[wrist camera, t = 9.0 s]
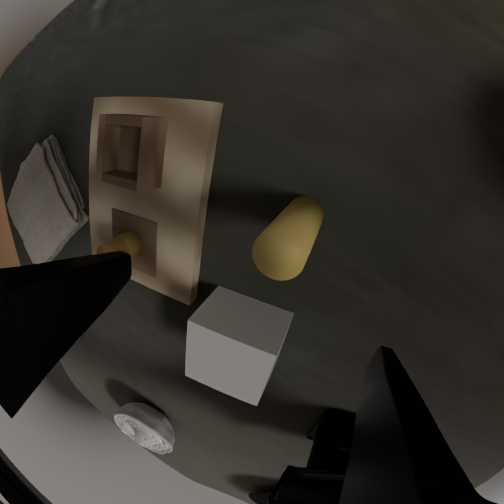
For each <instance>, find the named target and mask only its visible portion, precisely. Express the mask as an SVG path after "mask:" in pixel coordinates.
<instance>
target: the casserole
mask: <svg viewBox="0 0 504 504" xmlns="http://www.w3.org/2000/svg"><path fill="white" fill-rule="evenodd" d="M272 492H273V491H271V492H265V493H250V494H249V497H250V498H251V500H253V501H254V502H255V503H257V504H267V499H268V498H269V497H270V495H271V493H272Z"/></svg>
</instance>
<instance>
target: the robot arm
mask: <svg viewBox="0 0 504 504" xmlns="http://www.w3.org/2000/svg"><path fill="white" fill-rule="evenodd" d="M131 276H132V262H131V255H130V254H129V253H126V252H124V251H114V252H108V253H101V254H94V255H88V256H81V257H75V258H69V259H62V260H56V261H50V262H44V263H39V264H31V265H25V266H19V267H10V268H2V269H0V405H1V406H2V407H3V409H4V410H5V411H6V412H7V413H8V415H9V416H10V417H11V418H13V417H14V415H15V414H16V413H17V412H18V411H19V409H20V408H21V407H22V405H23V404H24V403H25V402H26V400H27V399H28V398H29V397H30V395H31V394H32V393H33V392H34V390H35V389H36V388H37V387H38V385H39V384H40V383H41V382H42V380H43V379H44V378H45V377H46V376H47V374H48V373H49V372H50V371H51V370H52V368H53V367H54V366H55V365H56V364H57V363H58V361H59V360H60V359H61V358H62V357H63V356H64V355H65V353H66V352H67V351H68V350H69V349H70V348H71V347H72V346H73V344H74V343H75V342H76V341H77V340H78V339H79V338H80V337H81V336H82V334H83V333H84V332H85V331H86V330H87V329H88V328H89V327H90V326H91V325H92V324H93V322H94V321H95V320H96V319H97V318H98V317H99V316H100V315H101V314H102V313H103V312H104V311H105V310H106V309H107V307H108V306H109V305H110V304H111V303H112V301H113V300H114V299H115V297H116V296H117V295H118V294H119V292H120V291H121V290H122V289H123V287H124V286H125V285H126V284H127V282H128V281H129V280H130V278H131ZM306 438H307V439H310V440H313V441H314V442H313V445H312V449H311V452H310V456H309V459H308V463H307V466H306V468H302V467H294V466H289V465H288V466H287V468H286V470H285V471H284V472H283V474H282V476H281V478H280V479H279V481H278V483H277V485H276V486H275V488H274V490H273V492H272V493H271V495H270V497H269V498H268V499H267V504H497V503H494V502H491V501H488V500H486V499H484V498H483V497H482V496H480V495H479V494H478V493H477V491H476V490H475V489H474V487H473V485H472V484H471V482H470V481H469V479H468V477H467V476H466V474H465V472H464V471H463V469H462V468H461V466H460V464H459V463H458V461H457V459H456V458H455V456H454V455H453V453H452V451H451V450H450V448H449V446H448V444H447V442H446V441H445V439H444V437H443V435H442V433H441V431H440V429H438V426H437V424H436V422H435V420H434V419H433V417H432V415H431V413H430V411H429V410H428V408H427V406H426V404H425V403H424V401H423V399H422V397H421V396H420V394H419V392H418V390H417V389H416V387H415V385H414V384H413V382H412V380H411V379H410V377H409V375H408V374H407V372H406V370H405V369H404V367H403V365H402V364H401V362H400V361H399V359H398V357H397V356H396V354H395V352H394V351H393V350H392V349H391V348H388V347H384V346H380V347H379V348H378V350H377V351H376V353H375V354H374V356H373V358H372V359H371V361H370V362H369V364H368V366H367V369H366V374H365V379H364V383H363V387H362V392H361V396H360V400H359V404H358V408H357V414H356V416H354V415H350V414H346V413H342V412H338V411H335V410H331V409H327V410H325V411H324V412H323V414H322V415H321V416H320V418H319V419H318V420H317V422H316V423H315V424H314V426H313V427H312V428H311V429H310V431H309V432H308V433H307V436H306ZM0 493H1V494H2V496H3V497H4V498H5V499H6V500H7V501H8V502H9V504H52V503H51V502H50V501H49V500H48V499H47V498H46V497H45V496H43V495H42V494H41V493H40V492H39V491H38V490H37V489H36V488H35V487H34V486H33V485H32V484H31V483H30V482H29V481H28V480H27V479H26V478H25V476H24V475H23V474H22V473H21V472H20V471H19V470H18V469H17V468H16V467H15V465H14V464H13V463H12V462H11V461H10V460H9V458H8V457H7V456H6V455H5V454H4V453H3V451H2V450H1V449H0ZM0 504H4V503H3V502H1V501H0Z"/></svg>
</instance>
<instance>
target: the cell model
mask: <svg viewBox="0 0 504 504" xmlns="http://www.w3.org/2000/svg"><path fill="white" fill-rule="evenodd" d="M113 417H114V421H115V423H116V424H117V425H118V427H119V428H120V429H121V431H122V432H123V433H125V434H127V435H128V436H129V437H130V438H132V439H133V440H135V441H136V442H137V443H138V444H139V445H141V446H144V447H146V448H147V449H149V450H151V451H154V452H156V453H158V454H164V453H169V452H171V451H172V448H173V445H174V442H175V438H174V432H173V428H172V425H171V424H170V422H169V420H168V419H167V417H166V416H165V415H164V414H162V413H161V412H159V411H158V410H156V409H154V408H153V407H150V406H149V405H146V404H143V403H127V404H125V405H124V406H122V407H121V408H120V409H119V410H118V411H117V412H116V413H115V414H114V416H113Z"/></svg>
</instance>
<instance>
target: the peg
mask: <svg viewBox="0 0 504 504" xmlns="http://www.w3.org/2000/svg"><path fill="white" fill-rule="evenodd" d="M323 217H324V211H323V207H322V205H321V204H320V202H319V201H318V200H316V199H315V198H313V197H311V196H306V195H303V196H299V197H296V198H295V199H294V200H292V201H291V203H290V204H289V205H288V206H287V207H286V208H285V209H284V210H283V211H282V212H281V213H280V214H279V215H278V216H277V217H276V218H275V219H274V221H273V222H272V223H271V224H270V225H269V226H268V227H267V228H266V229H265V230H264V231H263V232H262V233H261V234H260V235H259V236H258V238H257V239H256V240H255V242H254V244H253V249H252V256H253V260H254V263H255V265H256V266H257V268H258V269H259V270H260V271H261V272H262V273H263V274H264V275H266V276H267V277H269V278H271V279H274V280H281V281H283V280H289V279H292V278H294V277H296V276H297V275H298V274H300V272H301V271H302V270H303V268H304V266H305V263H306V261H307V258H308V256H309V253H310V251H311V249H312V246H313V244H314V241H315V239H316V236H317V234H318V231H319V228H320V226H321V223H322V221H323Z"/></svg>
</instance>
